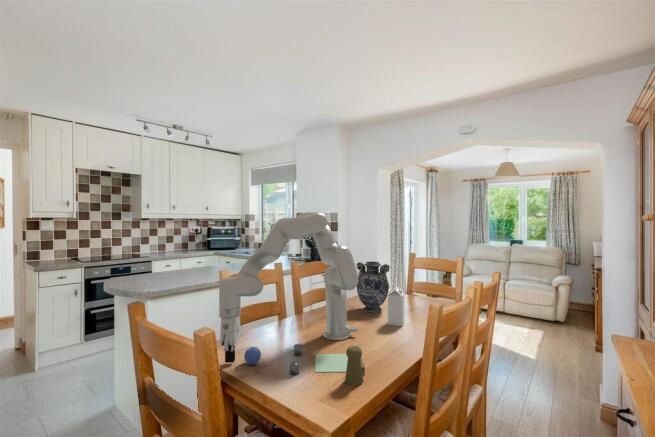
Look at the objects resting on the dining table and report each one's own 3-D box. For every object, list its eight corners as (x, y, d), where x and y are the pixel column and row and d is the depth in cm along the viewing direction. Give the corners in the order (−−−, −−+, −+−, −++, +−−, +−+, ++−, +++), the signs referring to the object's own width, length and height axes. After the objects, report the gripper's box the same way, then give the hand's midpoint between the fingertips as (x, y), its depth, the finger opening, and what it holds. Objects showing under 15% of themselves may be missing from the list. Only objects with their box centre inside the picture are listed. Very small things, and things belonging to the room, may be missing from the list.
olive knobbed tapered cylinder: (343, 376, 104) (343, 344, 104) (361, 376, 104) (361, 343, 104) (346, 386, 98) (346, 351, 98) (365, 385, 98) (365, 350, 98)
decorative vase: (348, 310, 179) (348, 262, 179) (363, 304, 194) (364, 259, 194) (382, 317, 167) (383, 265, 167) (395, 309, 182) (396, 262, 182)
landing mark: (351, 354, 121) (351, 353, 121) (355, 371, 107) (355, 371, 107) (315, 354, 121) (315, 354, 121) (314, 372, 107) (314, 371, 107)
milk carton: (387, 325, 155) (387, 287, 155) (390, 320, 161) (390, 284, 161) (402, 327, 152) (402, 288, 152) (404, 322, 158) (404, 285, 159)
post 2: (299, 371, 108) (299, 361, 108) (298, 375, 105) (298, 365, 105) (290, 371, 108) (290, 361, 108) (289, 375, 105) (289, 365, 105)
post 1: (302, 352, 123) (302, 343, 123) (301, 356, 120) (301, 347, 120) (294, 352, 123) (294, 344, 123) (293, 356, 120) (293, 347, 120)
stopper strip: (358, 352, 123) (358, 345, 123) (364, 374, 105) (364, 367, 105) (353, 352, 123) (353, 345, 123) (358, 374, 105) (358, 367, 105)
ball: (262, 359, 117) (262, 344, 117) (259, 367, 111) (259, 350, 111) (246, 360, 116) (246, 344, 116) (242, 367, 110) (242, 350, 110)
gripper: (234, 317, 106) (234, 371, 106) (245, 305, 121) (245, 352, 121) (212, 318, 106) (212, 371, 106) (226, 305, 121) (226, 352, 121)
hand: (230, 361), depth 113 cm, fingers closed
